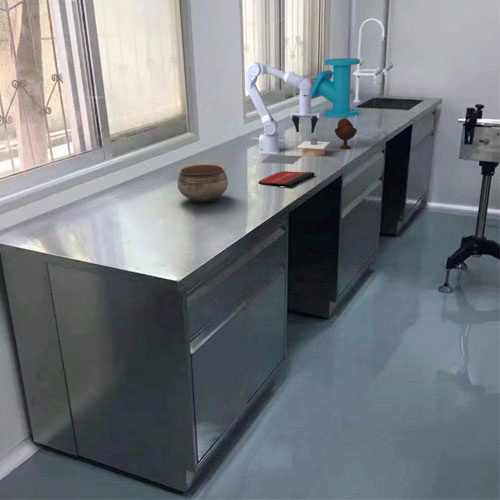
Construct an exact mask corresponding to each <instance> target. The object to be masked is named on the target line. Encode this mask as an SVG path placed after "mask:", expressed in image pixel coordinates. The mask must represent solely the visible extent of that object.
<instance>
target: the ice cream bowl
mask: <svg viewBox="0 0 500 500" xmlns="http://www.w3.org/2000/svg"><path fill="white" fill-rule="evenodd" d="M357 131H358V129H357V128H355V127H354V125H353V123H352V122H351V121H350V119H348V118H347V117H345V118H341V119H339V121H338V122H337V128H335V129H334V133H335V135H336V136H337V137H338V138H339V139H340V140H341V141H343V145H341V146H339V149H340V150H350V149H351V148H352V147H351V146H350V145H348V141H349V140H352V139H353V138H354V137H355V135H356V134H357Z"/></svg>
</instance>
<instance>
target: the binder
mask: <svg viewBox="0 0 500 500" xmlns="http://www.w3.org/2000/svg"><path fill="white" fill-rule="evenodd" d="M314 177H315V172H313V171H312V172H311V171H285V170H283V171H279V172H277V173H273V174H271V175H269V176H266V177H264V178H263V179H260V180H258V185H263V186H269V187H275V186H276V188H281V187H280V186H290V187H289V189H292V188H294V187H296V186H298V185H300V184H302V183H304V182H306V181H307V179H308V180H310V179H312V178H314ZM305 180H306V181H305ZM303 181H304V182H303ZM301 182H302V183H301ZM299 183H300V184H299ZM297 184H298V185H297Z"/></svg>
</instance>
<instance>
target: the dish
mask: <svg viewBox="0 0 500 500" xmlns="http://www.w3.org/2000/svg"><path fill="white" fill-rule="evenodd" d="M325 154H326V147H325V148H324V149H312V148H302V156H306V157H320V156H321V157H322V156H324V155H325Z"/></svg>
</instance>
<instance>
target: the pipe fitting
mask: <svg viewBox="0 0 500 500" xmlns="http://www.w3.org/2000/svg"><path fill="white" fill-rule="evenodd" d="M360 62H361V59H360V58H356V57H355V58H352V57H351V58H350V57H349V58H348V57H343V58H339V57H338V58H337V57H336V58H328V59H324V65H325V66H332V67H333V68H332V70H333V71H332V70H331V69H327V70H324V71H323V70H322V71H321V72H320V73H319V74H318V76H317V77H316V79H315V81H314V83H313V85H312V86H311V100H312V99H315V98H319V97H321V96H322V97H323V98H325V100H326V99H327V101H329V102H330V103H332V108H328V109H325V110H324V112H323V115H326V116H325V117H327V116H330V117H329V118H334V117H345V118H350V117H349V116H354V117H356V116H355V115H357V116H359V109H356V108H351V76H352V75H351V73H352V71H351V70H352V69H351V68H352V66H353V65H354V66H356V65H360V64H361V63H360ZM332 77H333V78H332ZM331 79H333V80H331Z"/></svg>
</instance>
